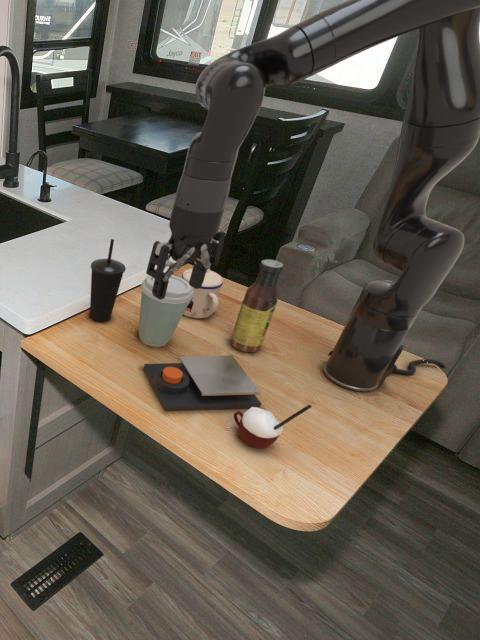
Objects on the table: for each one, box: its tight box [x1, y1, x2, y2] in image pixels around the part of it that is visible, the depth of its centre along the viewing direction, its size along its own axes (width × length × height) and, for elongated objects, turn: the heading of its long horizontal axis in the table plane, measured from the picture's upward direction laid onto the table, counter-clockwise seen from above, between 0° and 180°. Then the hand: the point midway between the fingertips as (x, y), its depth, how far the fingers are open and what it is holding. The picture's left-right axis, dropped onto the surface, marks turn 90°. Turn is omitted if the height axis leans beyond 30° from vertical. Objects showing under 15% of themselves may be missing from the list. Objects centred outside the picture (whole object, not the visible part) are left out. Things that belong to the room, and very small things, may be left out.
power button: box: [162, 367, 183, 384], centre depth 101 cm, size 4×4×2 cm
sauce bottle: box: [230, 258, 284, 353], centre depth 109 cm, size 6×6×20 cm
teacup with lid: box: [181, 267, 224, 319], centre depth 123 cm, size 12×9×12 cm
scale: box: [142, 362, 262, 412], centre depth 102 cm, size 18×13×3 cm
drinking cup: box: [89, 238, 127, 324], centre depth 119 cm, size 8×8×20 cm
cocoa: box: [233, 404, 312, 449], centre depth 87 cm, size 10×6×12 cm, turn 10°
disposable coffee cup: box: [138, 274, 194, 348], centre depth 112 cm, size 11×11×15 cm
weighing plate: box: [178, 354, 261, 396], centre depth 101 cm, size 11×12×1 cm
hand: (176, 291), depth 91 cm, fingers open, 8 cm apart
